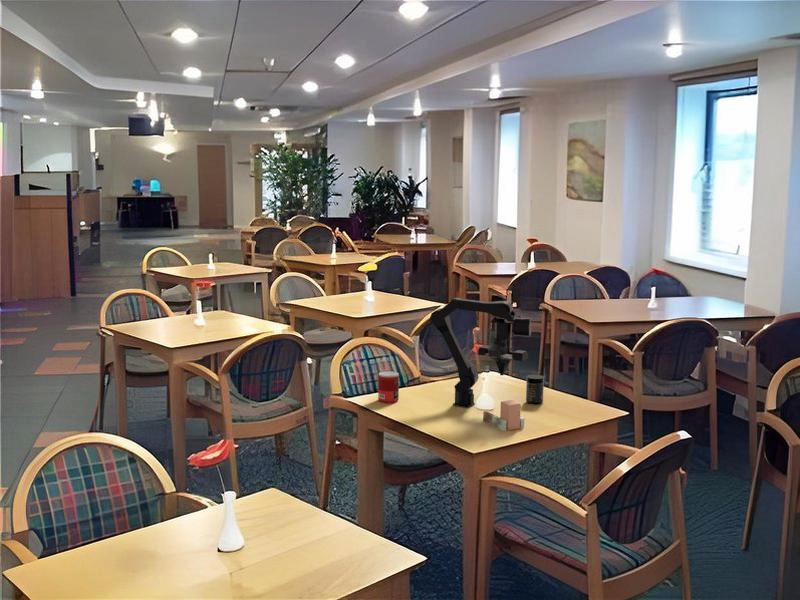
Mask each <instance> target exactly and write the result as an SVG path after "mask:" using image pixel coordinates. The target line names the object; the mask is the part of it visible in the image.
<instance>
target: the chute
mask: <svg viewBox="0 0 800 600" xmlns="http://www.w3.org/2000/svg"><path fill="white" fill-rule="evenodd" d="M482 415H483V416H482V421H483V422H484V423H486V424H489V425H490V426H492V427H494V428H496V429H498V430H500V431H502V432H504V431H505V432H506V431H507V429H506V422H507V421H506V420H504V419H502V418H500V416H498V415H495V414H493V413H491V412H489V411H487V410H485V411H483V413H482ZM519 429H525V417H523V416H521V415H520V428H519Z"/></svg>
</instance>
